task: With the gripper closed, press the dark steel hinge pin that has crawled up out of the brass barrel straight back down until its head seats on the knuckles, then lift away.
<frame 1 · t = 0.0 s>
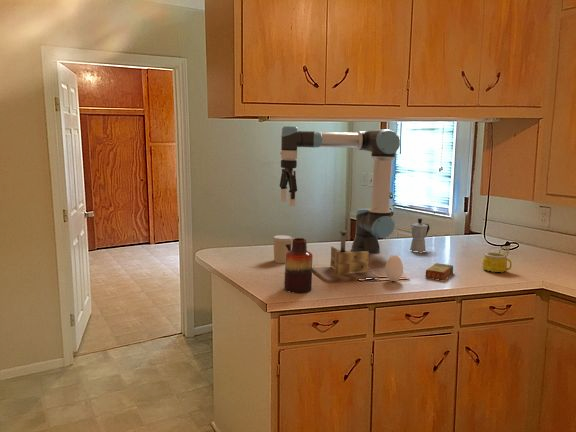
hand: (287, 204, 244), 28 cm above the countertop, fingers open, 13 cm apart
egg: (393, 282, 218), on the countertop
mug: (496, 271, 241), on the countertop
vase: (297, 289, 203), on the countertop
hinge pin: (343, 243, 222), point 15 cm above the countertop, slide at 8.0 cm
carton: (439, 276, 230), on the countertop
coffee cup: (282, 261, 248), on the countertop
coffee maker: (419, 251, 280), on the countertop
hinge mount: (343, 274, 226), on the countertop
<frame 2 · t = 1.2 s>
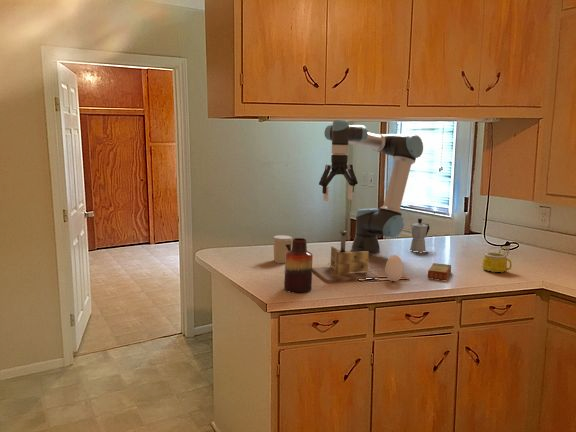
hand: (338, 200, 238), 31 cm above the countertop, fingers open, 13 cm apart
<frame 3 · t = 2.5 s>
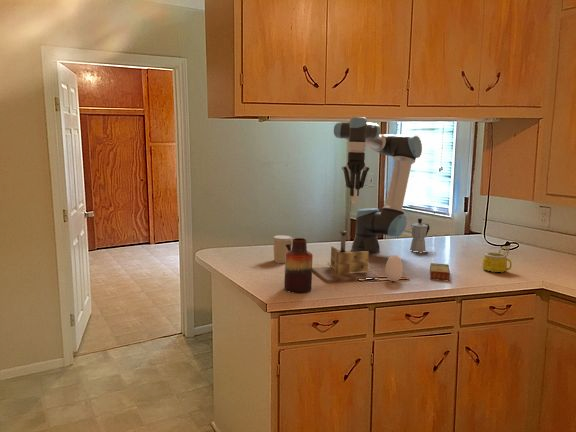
hand: (353, 203, 235), 31 cm above the countertop, fingers closed
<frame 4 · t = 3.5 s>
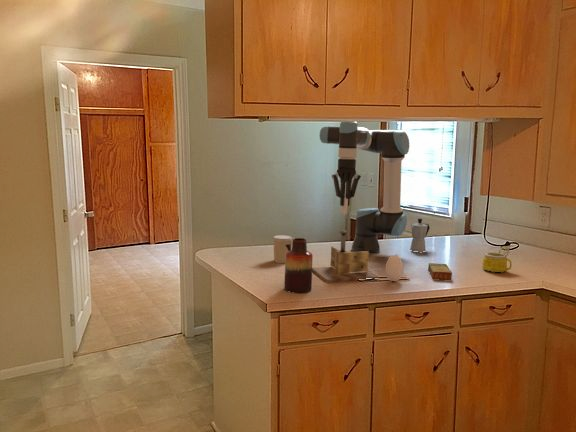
hand: (344, 213, 219), 28 cm above the countertop, fingers closed
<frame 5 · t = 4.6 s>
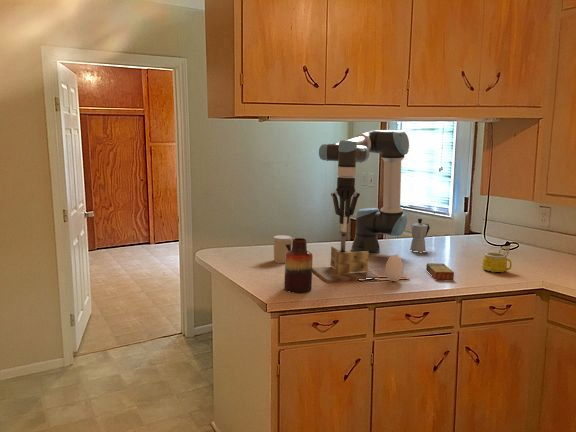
hand: (343, 231, 221), 20 cm above the countertop, fingers closed
hinge pin: (343, 243, 222), point 15 cm above the countertop, slide at 7.7 cm, touching gripper
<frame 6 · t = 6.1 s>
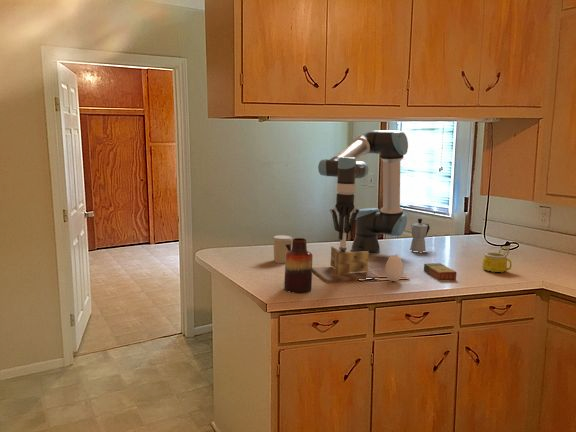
hand: (342, 247, 222), 13 cm above the countertop, fingers closed
hinge pin: (342, 259, 223), point 8 cm above the countertop, slide at 0.7 cm, touching gripper
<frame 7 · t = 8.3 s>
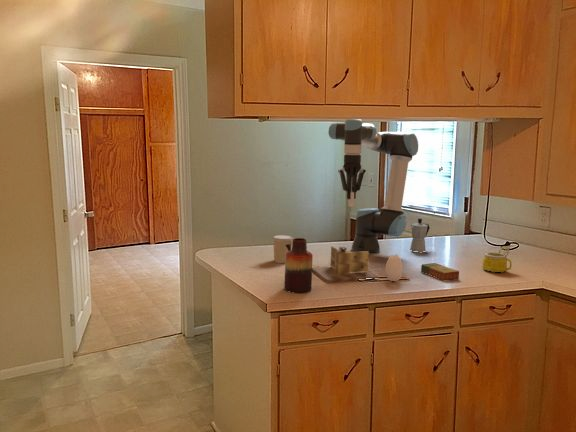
hand: (350, 206, 232), 30 cm above the countertop, fingers closed
hinge pin: (342, 259, 223), point 7 cm above the countertop, slide at 0.6 cm
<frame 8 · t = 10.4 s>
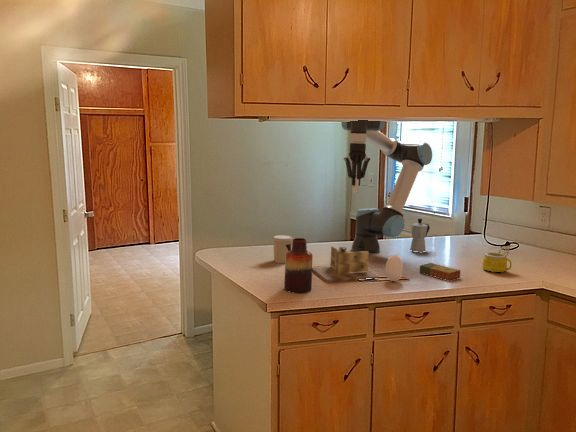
hand: (355, 192, 244), 34 cm above the countertop, fingers closed
at the end: hinge pin slide at 0.6 cm; the gripper is holding nothing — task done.
